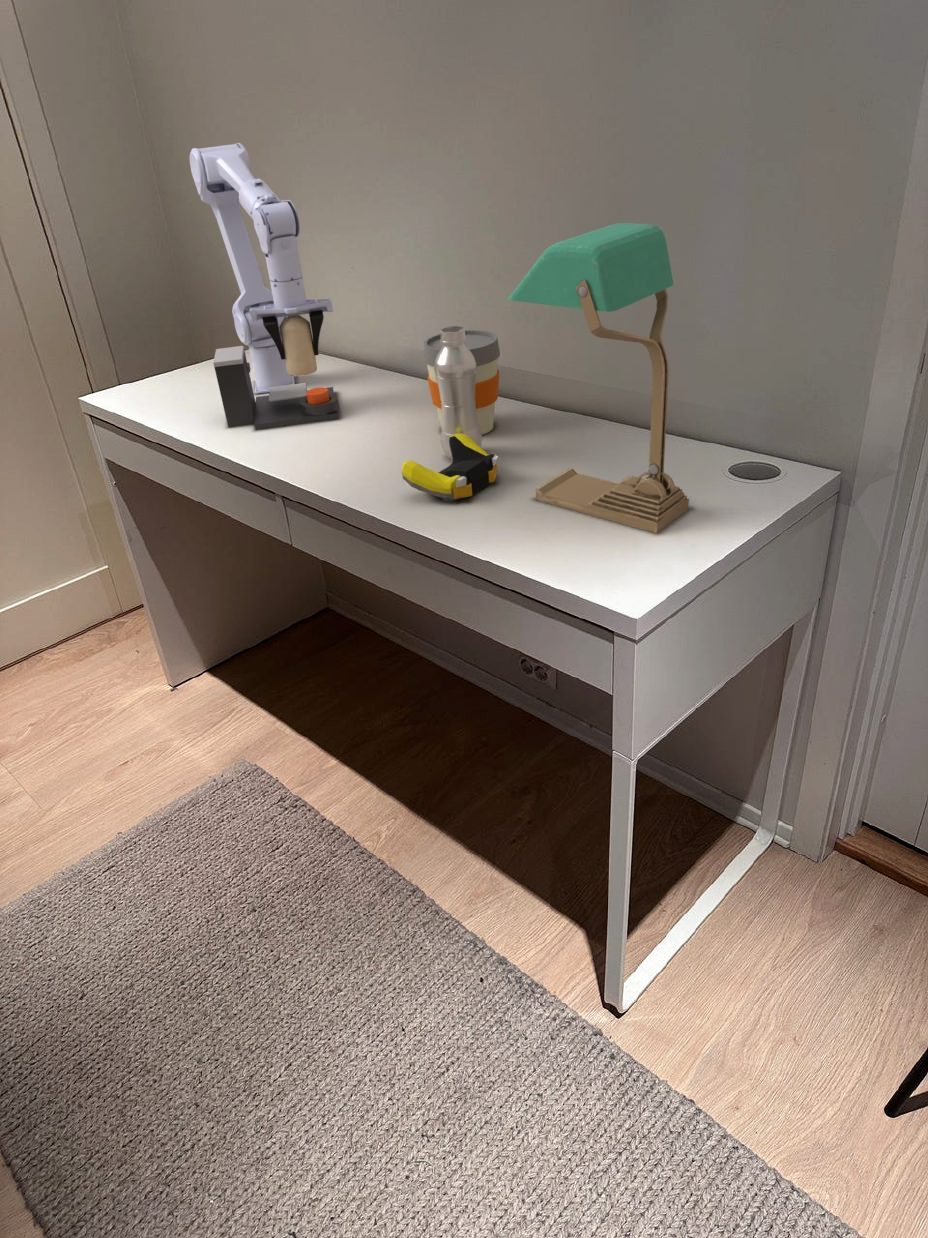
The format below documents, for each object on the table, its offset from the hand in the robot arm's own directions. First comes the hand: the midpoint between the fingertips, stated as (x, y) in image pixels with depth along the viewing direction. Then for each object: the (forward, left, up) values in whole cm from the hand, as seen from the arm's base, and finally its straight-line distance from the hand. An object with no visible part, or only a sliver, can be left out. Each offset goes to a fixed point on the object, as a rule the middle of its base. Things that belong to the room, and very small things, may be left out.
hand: (299, 355), depth 160 cm
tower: (0, -7, -10) cm, 12 cm away
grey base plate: (+1, -2, -10) cm, 10 cm away
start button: (+5, +2, -7) cm, 9 cm away
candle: (0, 0, -3) cm, 3 cm away
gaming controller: (+45, +21, -10) cm, 50 cm away
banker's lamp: (+58, +40, -10) cm, 71 cm away
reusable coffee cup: (+22, +27, -10) cm, 36 cm away
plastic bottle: (+34, +24, -10) cm, 43 cm away
